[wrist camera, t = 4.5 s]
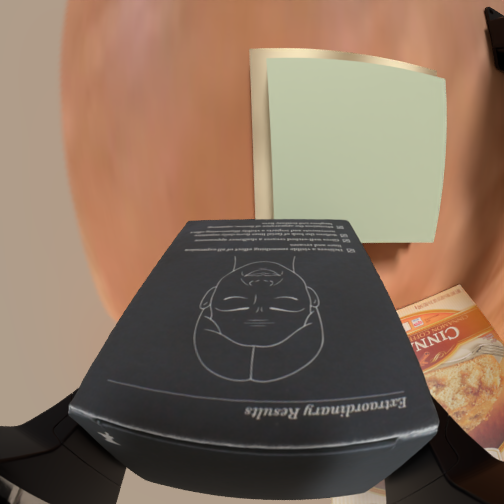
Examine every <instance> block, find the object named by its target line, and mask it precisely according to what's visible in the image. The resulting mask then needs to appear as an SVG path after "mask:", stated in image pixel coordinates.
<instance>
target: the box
mask: <svg viewBox="0 0 504 504" xmlns="http://www.w3.org/2000/svg"><path fill="white" fill-rule="evenodd" d="M68 414H69V416H70V417H71V418H73V419H74V420H75V421H76V422H77V423H78V424H79V425H81V426H82V427H83V428H84V429H85V430H86V431H87V432H88V433H89V434H90V435H91V436H92V437H93V438H94V439H95V440H96V441H97V442H98V443H99V444H101V445H102V446H103V447H104V448H105V449H106V450H107V451H108V452H109V453H111V454H112V455H113V456H114V457H115V458H116V459H117V460H119V461H120V462H121V463H122V464H123V465H125V466H126V467H127V468H128V469H130V470H131V471H133V472H134V473H135V474H137V475H138V476H140V477H141V478H143V479H145V480H147V481H150V482H153V483H157V484H161V485H165V486H170V487H174V488H178V489H183V490H188V491H193V492H199V493H204V494H211V495H217V496H225V497H235V498H247V499H263V500H303V499H320V498H332V497H341V496H348V495H355V494H361V493H365V492H367V491H368V490H370V489H371V488H373V487H374V486H375V485H377V484H378V483H379V482H381V481H382V480H384V479H385V478H386V477H388V476H389V475H390V474H392V473H393V472H394V471H395V470H397V469H398V468H399V467H400V466H402V465H403V464H404V463H405V462H406V461H407V460H409V459H410V458H411V457H412V456H413V455H414V454H416V453H417V452H418V451H419V450H420V449H421V448H422V447H423V446H425V445H426V444H427V443H428V442H429V441H430V440H431V439H432V438H433V437H434V436H435V435H436V433H437V430H438V426H439V418H438V414H437V411H436V408H435V405H434V403H433V400H432V397H431V393H430V390H429V388H428V385H427V383H426V379H425V376H424V373H423V371H422V369H421V366H420V363H419V361H418V358H417V356H416V354H415V352H414V350H413V347H412V345H411V342H410V340H409V338H408V335H407V333H406V331H405V329H404V327H403V325H402V322H401V320H400V318H399V315H398V313H397V312H396V310H395V307H394V305H393V303H392V301H391V298H390V296H389V294H388V292H387V290H386V289H385V286H384V284H383V282H382V280H381V279H380V276H379V274H378V273H377V271H376V269H375V267H374V265H373V263H372V262H371V260H370V257H369V256H368V254H367V252H366V251H365V249H364V247H363V245H362V243H361V242H360V240H359V238H358V236H357V234H356V233H355V231H354V229H353V227H352V226H351V224H350V223H349V221H347V220H333V219H245V220H201V221H188V222H187V223H186V225H185V226H184V228H183V229H182V230H181V232H180V233H179V234H178V235H177V237H176V238H175V239H174V241H173V242H172V244H171V245H170V246H169V248H168V249H167V251H166V252H165V253H164V255H163V256H162V257H161V259H160V260H159V261H158V263H157V265H156V266H155V267H154V269H153V270H152V272H151V273H150V275H149V276H148V277H147V279H146V281H145V282H144V283H143V285H142V287H141V288H140V289H139V290H138V292H137V294H136V295H135V296H134V298H133V299H132V301H131V303H130V304H129V305H128V307H127V309H126V310H125V311H124V313H123V315H122V316H121V318H120V319H119V321H118V323H117V324H116V326H115V328H114V329H113V330H112V332H111V333H110V335H109V337H108V339H107V341H106V342H105V344H104V346H103V347H102V349H101V351H100V352H99V354H98V356H97V357H96V359H95V360H94V362H93V363H92V365H91V367H90V369H89V370H88V372H87V374H86V376H85V378H84V379H83V381H82V383H81V385H80V388H79V390H78V391H77V393H76V395H75V396H74V398H73V399H72V401H71V402H70V404H69V411H68Z"/></svg>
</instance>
